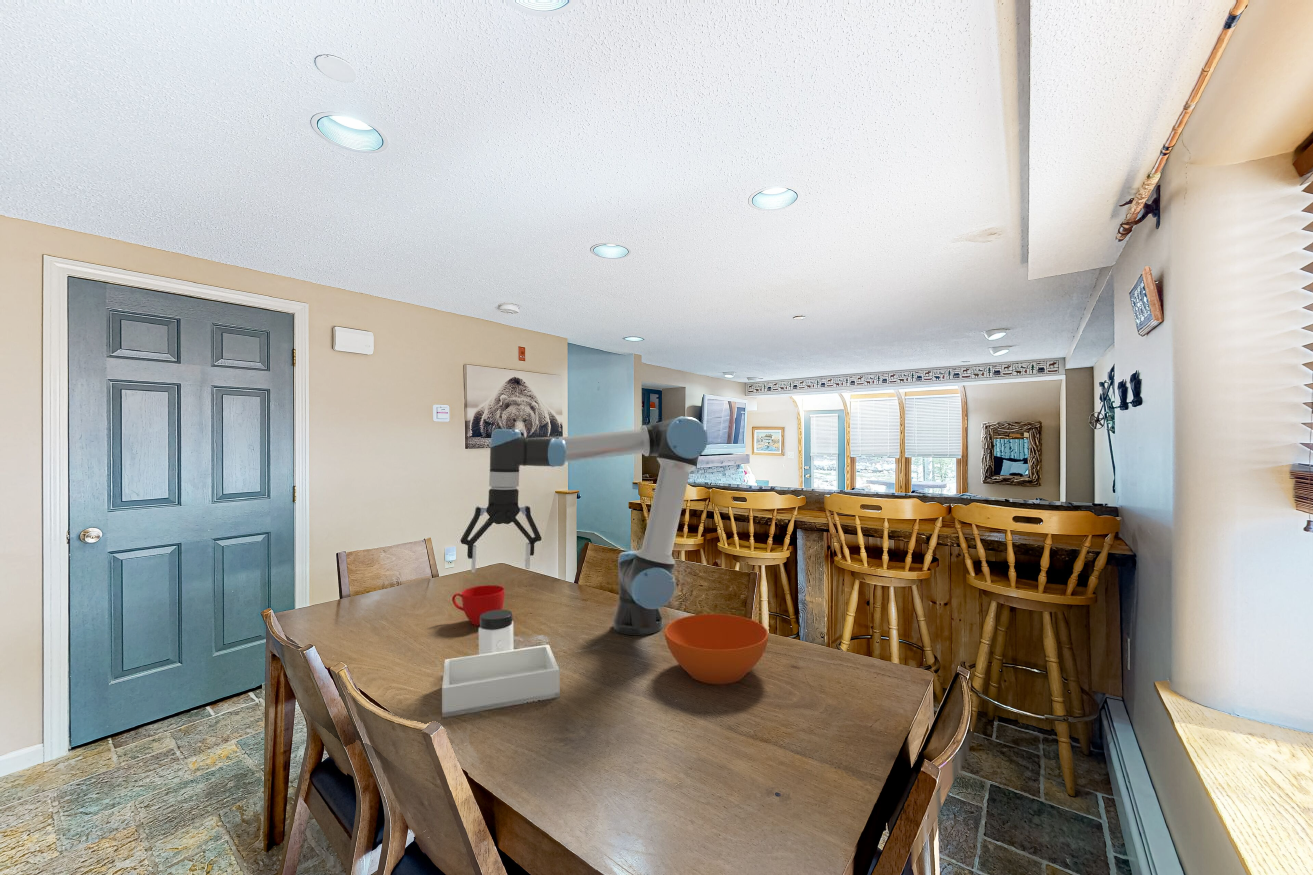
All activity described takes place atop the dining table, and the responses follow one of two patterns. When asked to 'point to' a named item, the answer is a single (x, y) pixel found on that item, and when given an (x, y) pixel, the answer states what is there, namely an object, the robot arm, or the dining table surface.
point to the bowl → (716, 646)
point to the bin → (499, 680)
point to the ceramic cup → (480, 601)
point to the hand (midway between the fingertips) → (500, 569)
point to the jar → (496, 631)
